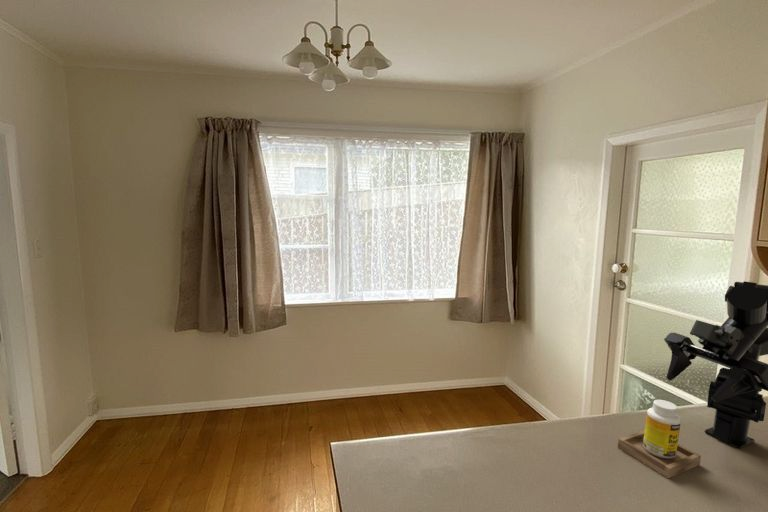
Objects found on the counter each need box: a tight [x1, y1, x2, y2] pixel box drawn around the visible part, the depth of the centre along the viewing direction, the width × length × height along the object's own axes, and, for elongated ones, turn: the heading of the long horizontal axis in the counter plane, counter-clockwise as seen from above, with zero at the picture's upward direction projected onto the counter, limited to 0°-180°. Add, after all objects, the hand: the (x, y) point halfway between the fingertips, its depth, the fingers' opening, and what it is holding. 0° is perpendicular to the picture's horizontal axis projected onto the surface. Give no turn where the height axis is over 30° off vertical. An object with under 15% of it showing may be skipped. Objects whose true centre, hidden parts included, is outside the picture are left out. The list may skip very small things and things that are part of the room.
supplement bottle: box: [643, 399, 682, 459], centre depth 79 cm, size 6×6×10 cm
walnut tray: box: [617, 429, 702, 479], centre depth 79 cm, size 10×10×2 cm
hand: (689, 389), depth 80 cm, fingers open, 9 cm apart
